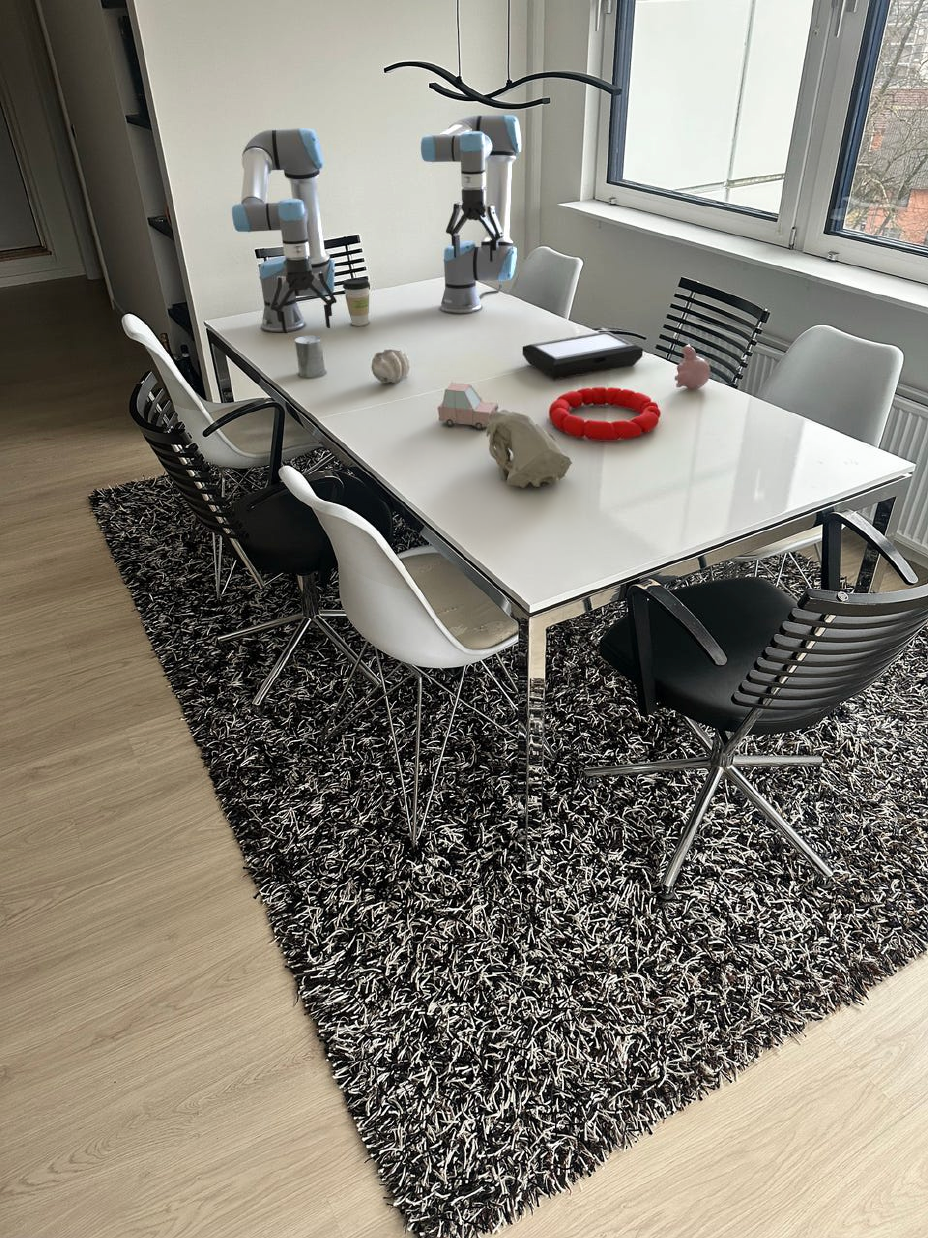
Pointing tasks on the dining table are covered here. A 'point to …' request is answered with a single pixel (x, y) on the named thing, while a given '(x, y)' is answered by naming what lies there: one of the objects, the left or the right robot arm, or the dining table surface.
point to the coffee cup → (357, 300)
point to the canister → (310, 356)
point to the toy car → (465, 406)
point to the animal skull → (525, 450)
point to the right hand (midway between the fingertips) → (475, 258)
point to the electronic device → (582, 354)
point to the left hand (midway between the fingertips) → (306, 329)
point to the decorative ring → (604, 428)
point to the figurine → (692, 370)
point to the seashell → (390, 366)
